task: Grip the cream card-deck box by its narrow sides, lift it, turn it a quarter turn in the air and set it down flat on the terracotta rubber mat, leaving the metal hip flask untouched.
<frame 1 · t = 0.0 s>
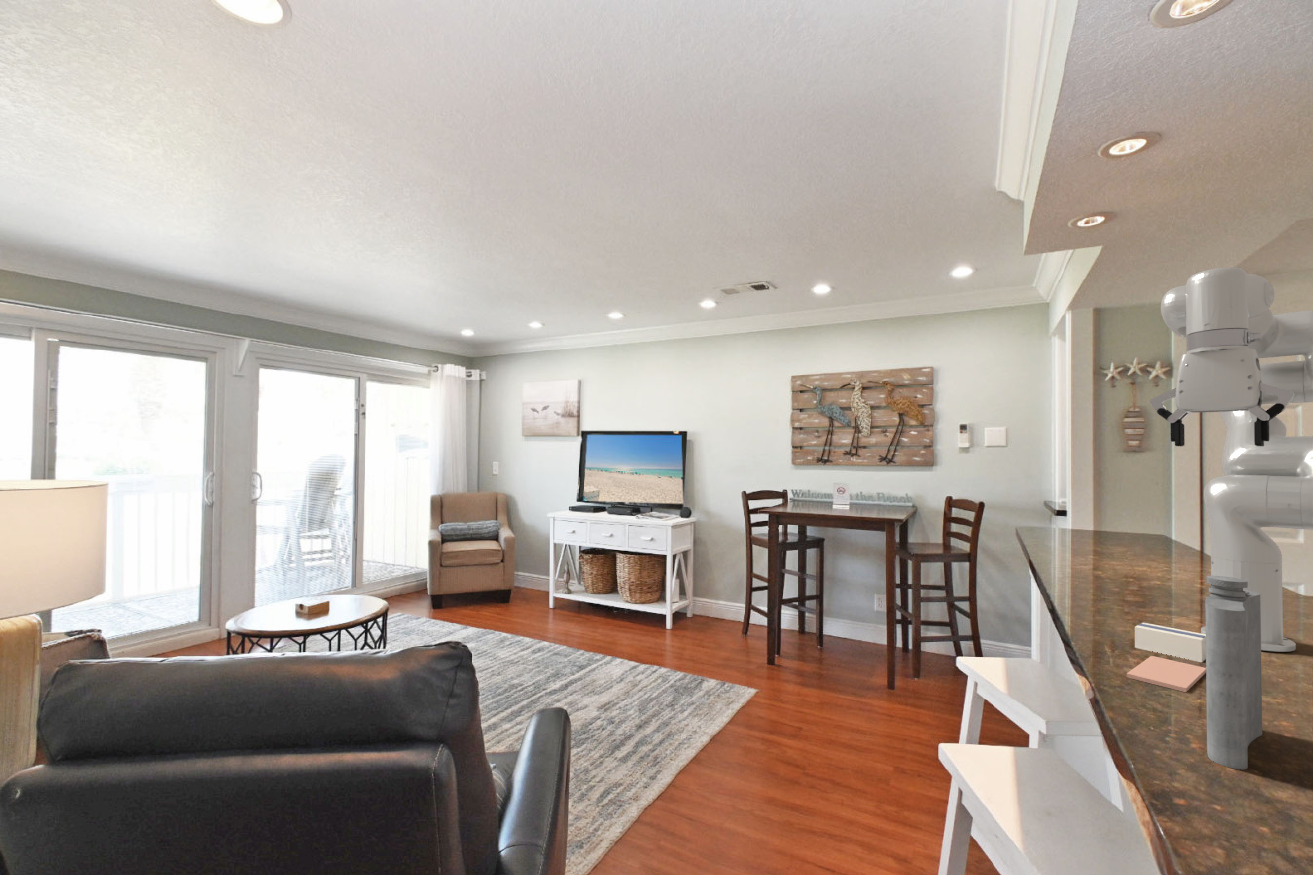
hand: (1217, 446, 96), 37 cm above the worktop, tool pointing down, fingers open, 9 cm apart
card box: (1170, 653, 103), on the worktop
mat: (1167, 674, 92), on the worktop
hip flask: (1231, 745, 70), on the worktop
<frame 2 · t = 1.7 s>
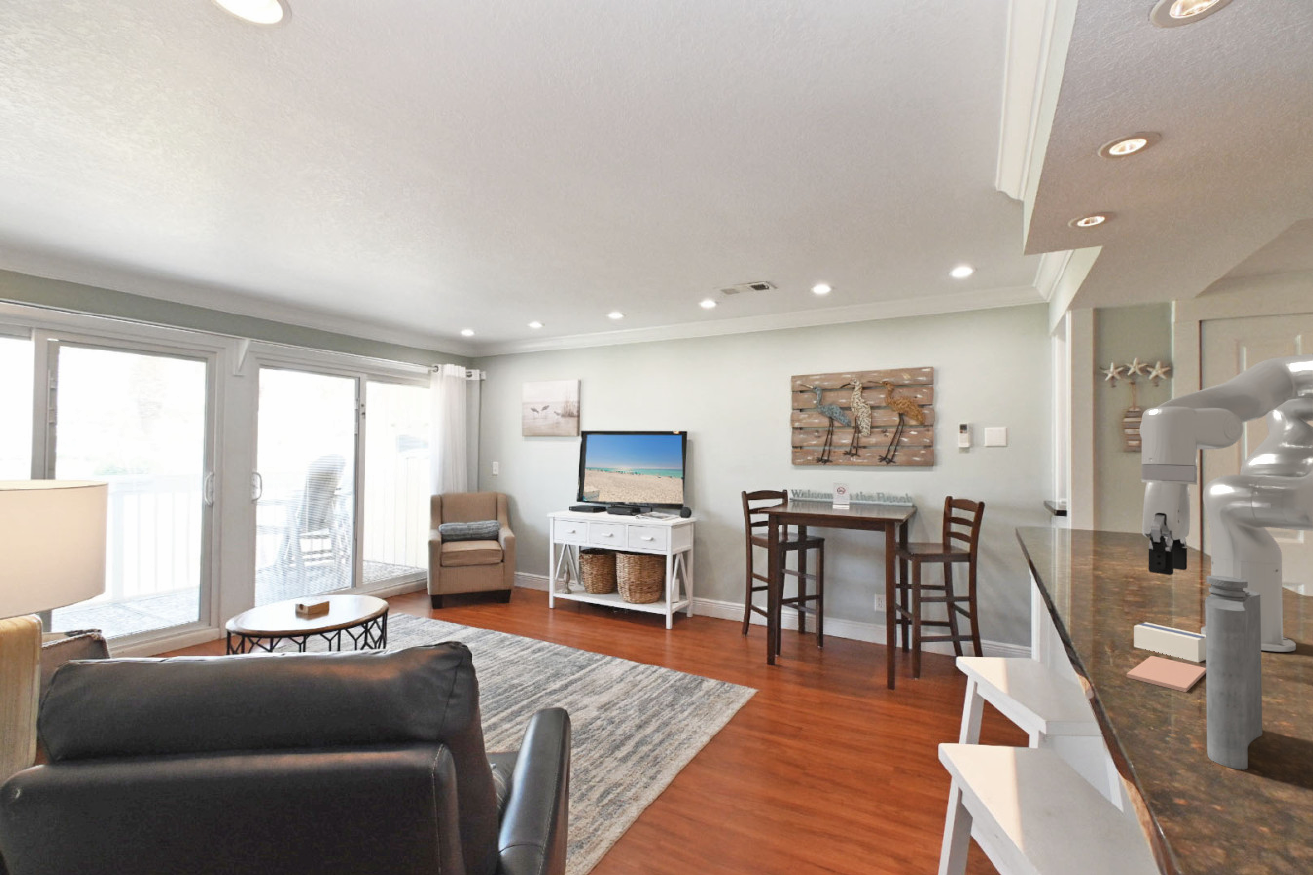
hand: (1168, 570, 103), 14 cm above the worktop, tool pointing down, fingers open, 9 cm apart
nothing on the worktop moved.
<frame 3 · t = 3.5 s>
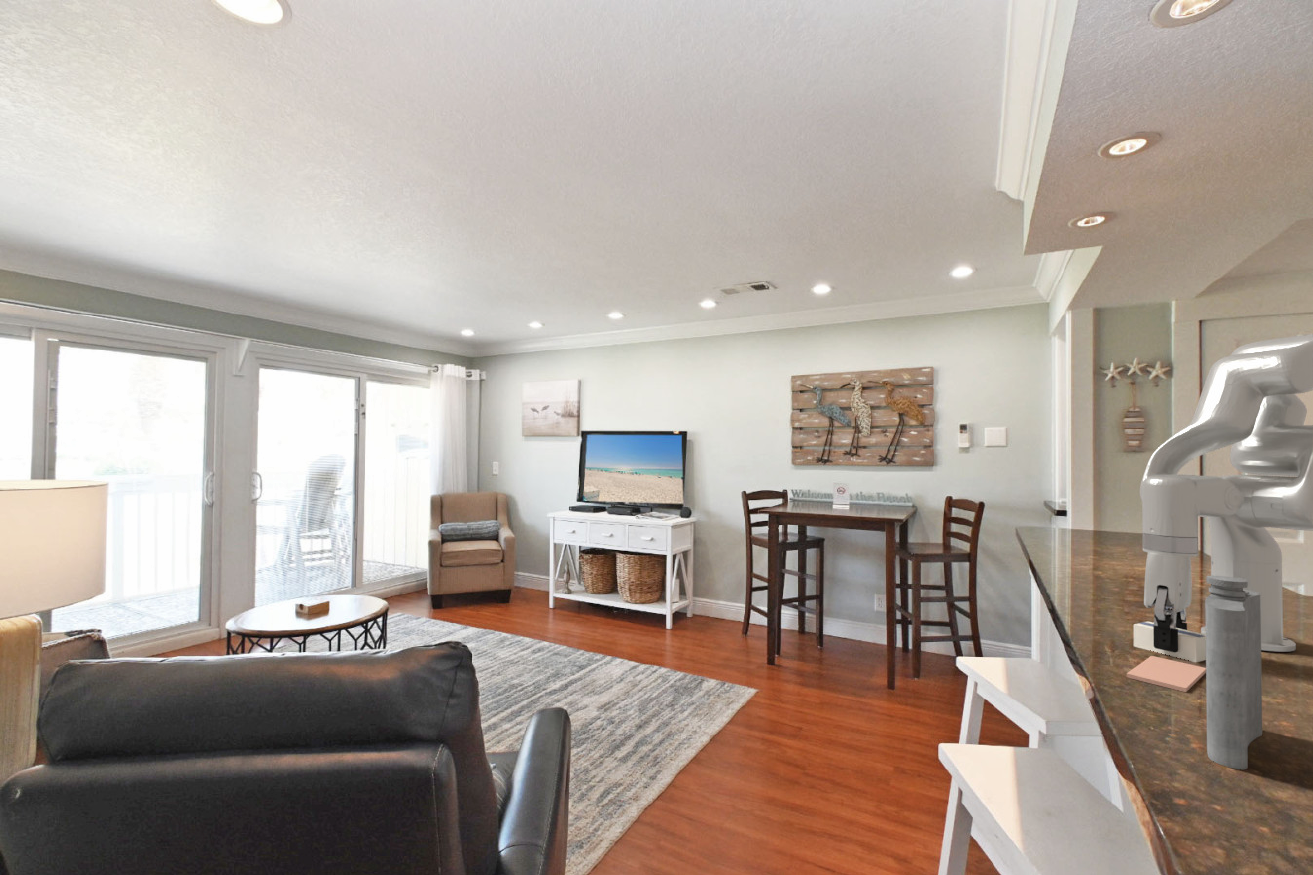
hand: (1170, 645, 103), 1 cm above the worktop, tool pointing down, fingers closed on card box, 5 cm apart
card box: (1170, 652, 103), on the worktop, touching gripper
everything else where it was.
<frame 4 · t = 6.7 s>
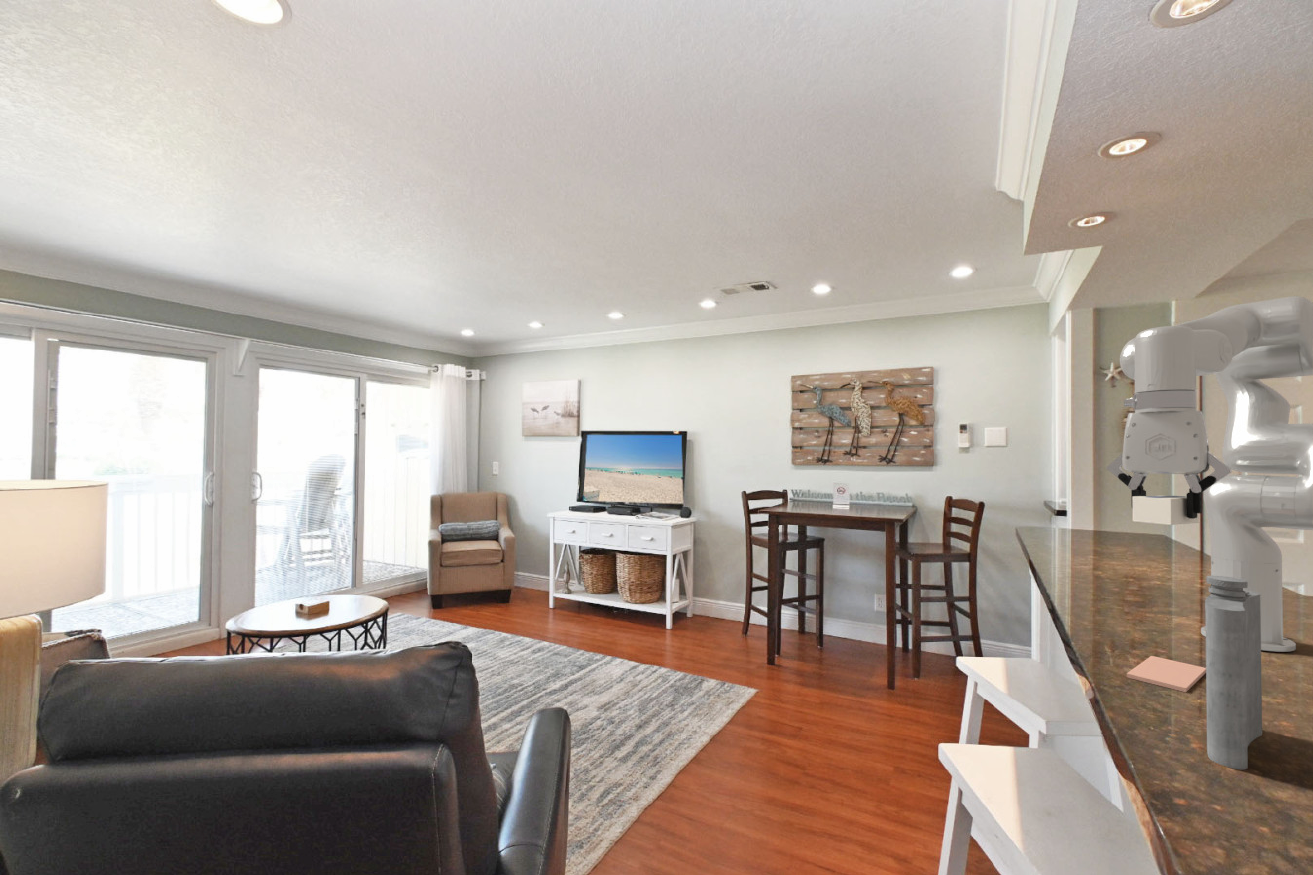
hand: (1165, 514, 93), 25 cm above the worktop, tool pointing down, fingers closed on card box, 5 cm apart
card box: (1165, 521, 93), point 24 cm above the worktop, touching gripper
everything else where it was.
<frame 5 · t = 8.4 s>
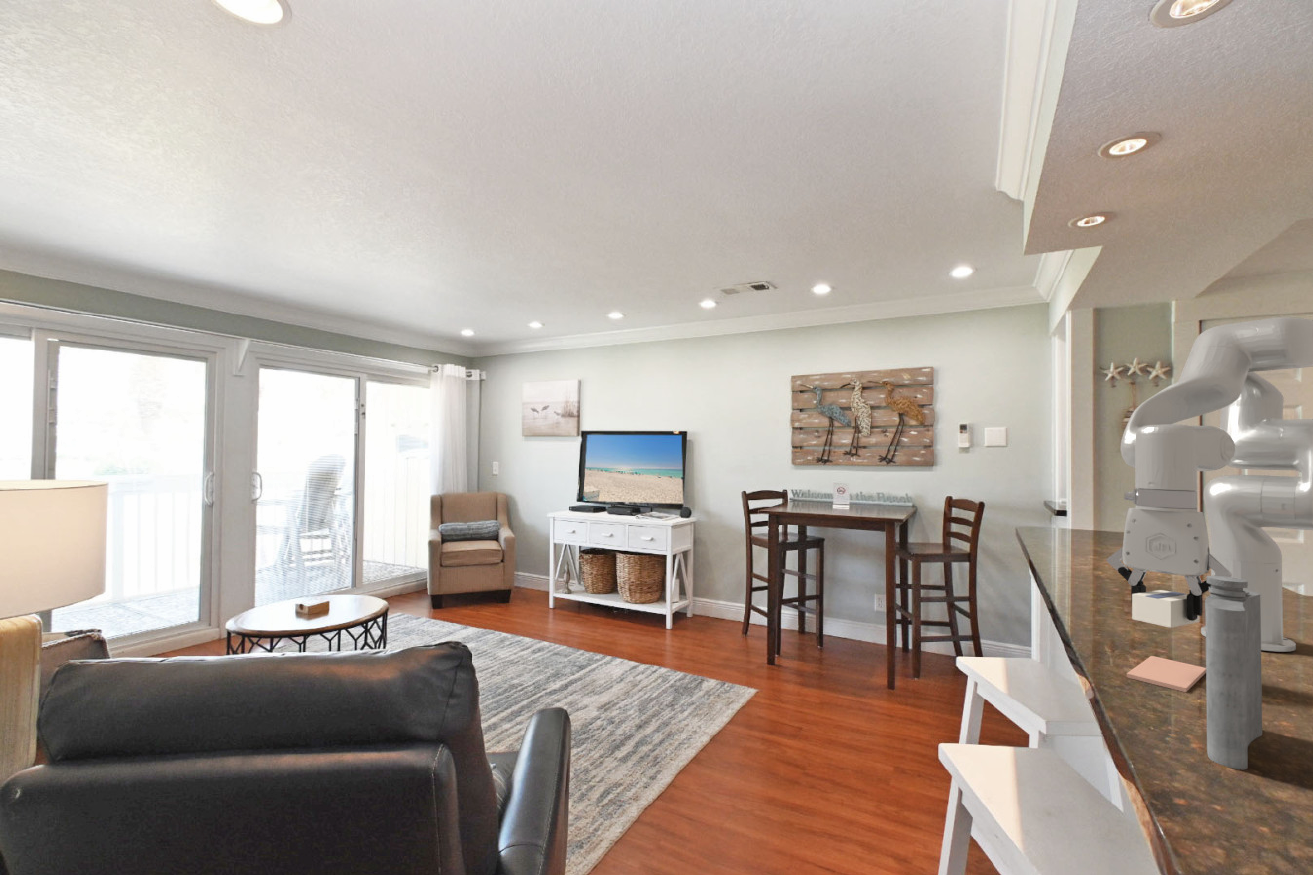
hand: (1165, 613, 92), 10 cm above the worktop, tool pointing down, fingers closed on card box, 5 cm apart
card box: (1165, 620, 92), point 9 cm above the worktop, touching gripper
everything else where it was.
when the fingers open (3 cm above the worktop, at t = 10.0 s): card box drops 1 cm, resting on mat.
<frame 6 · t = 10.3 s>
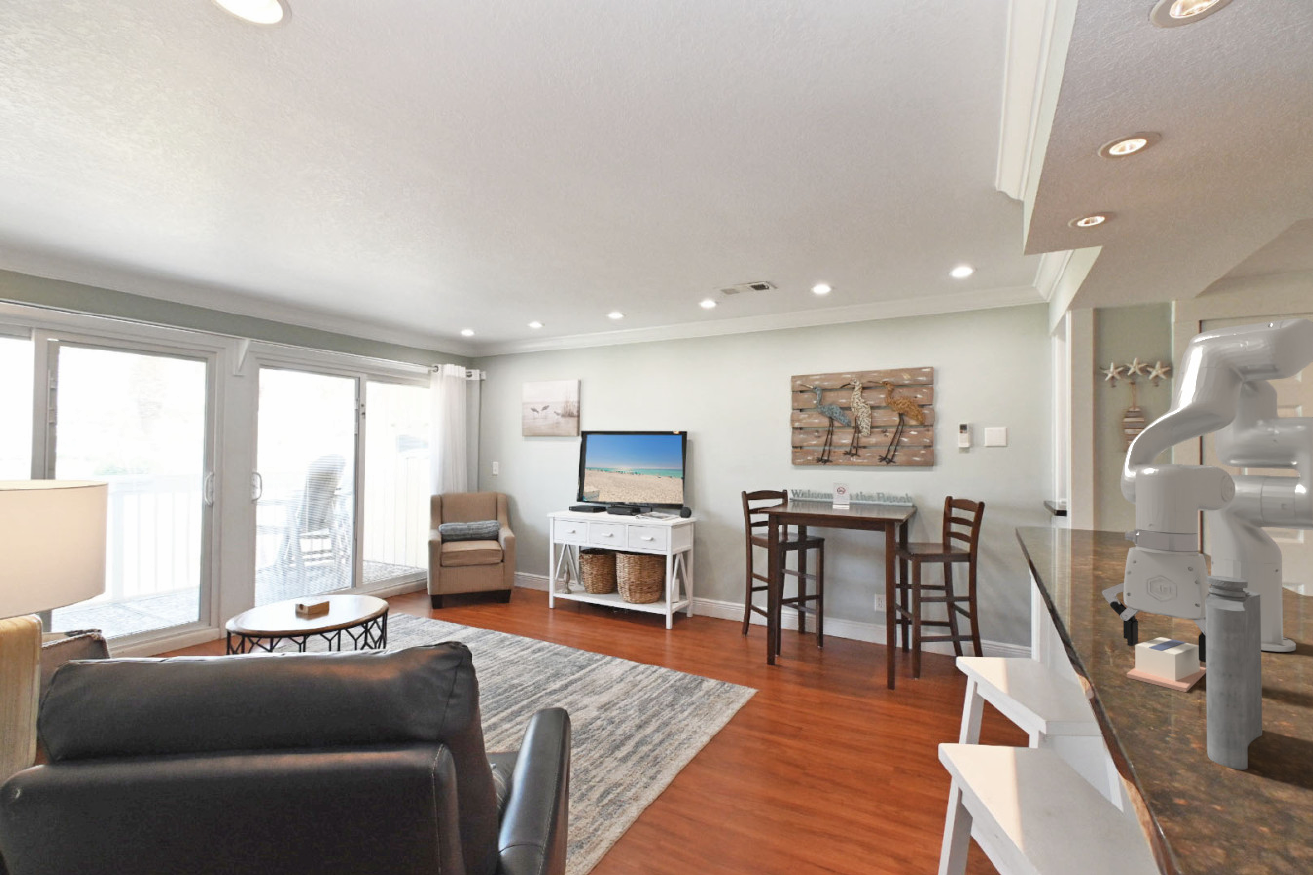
hand: (1167, 651, 92), 4 cm above the worktop, tool pointing down, fingers open, 8 cm apart
card box: (1167, 670, 92), point 1 cm above the worktop, touching mat
everything else where it was.
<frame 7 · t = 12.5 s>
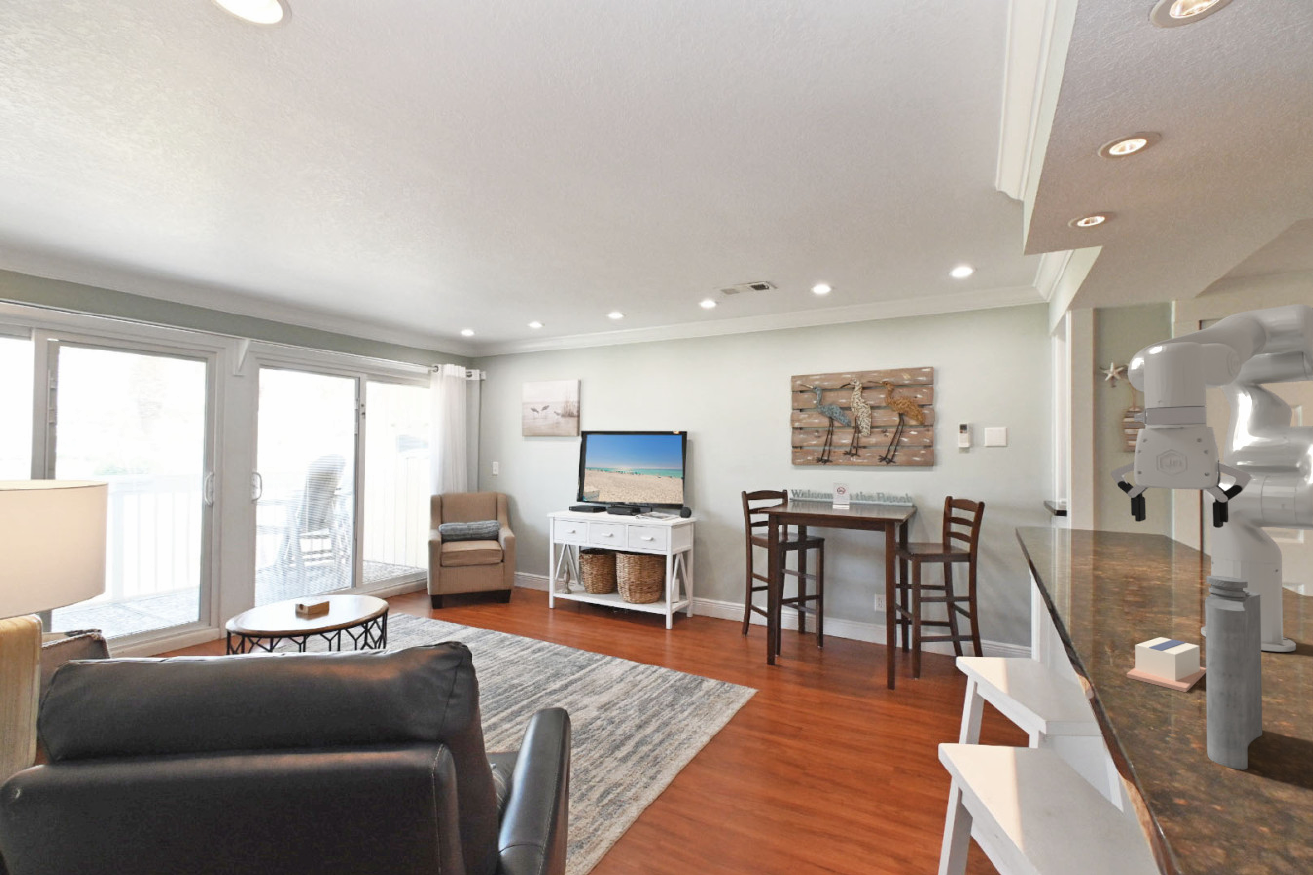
hand: (1177, 523, 94), 24 cm above the worktop, tool pointing down, fingers open, 9 cm apart
nothing on the worktop moved.
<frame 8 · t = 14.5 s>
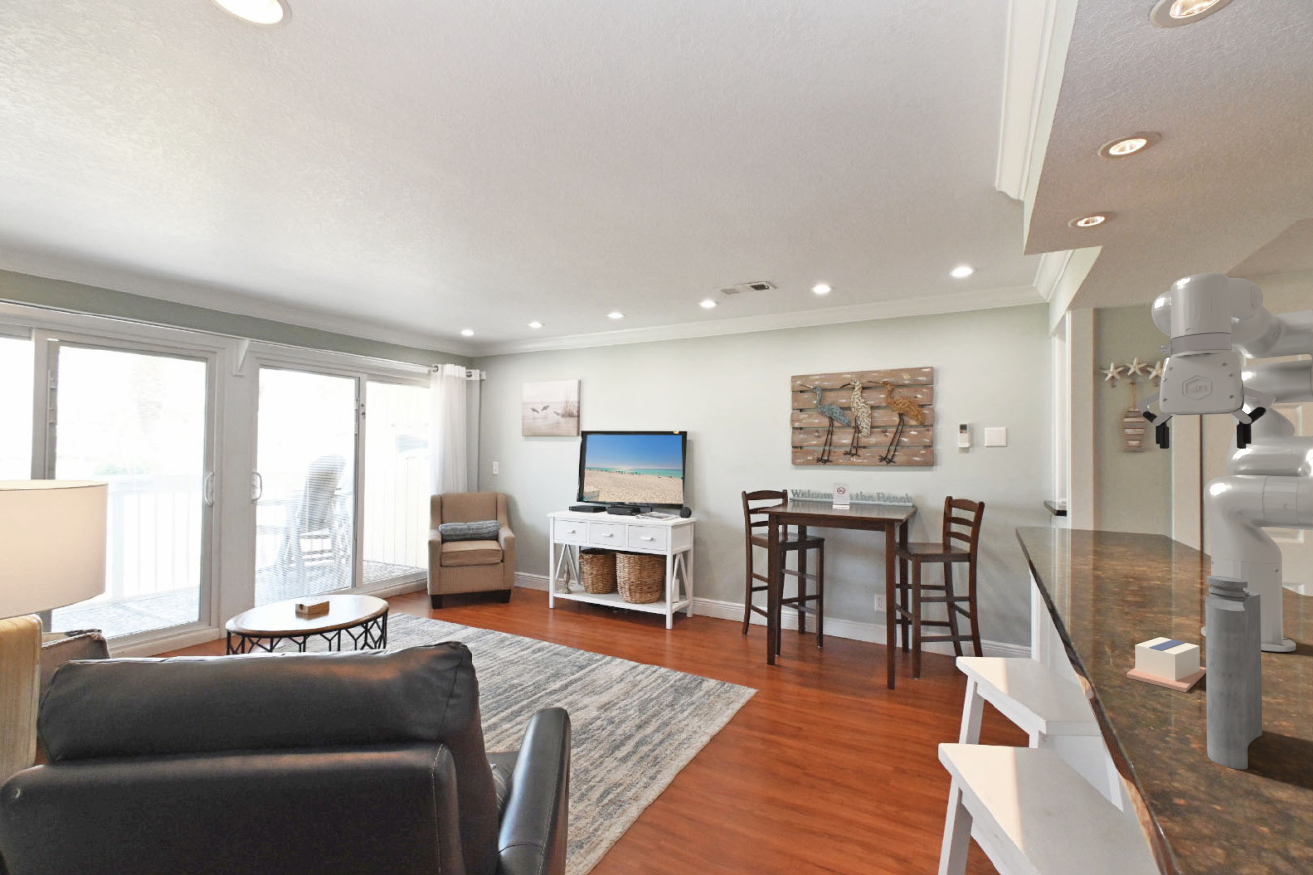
hand: (1201, 448, 98), 36 cm above the worktop, tool pointing down, fingers open, 9 cm apart
nothing on the worktop moved.
at the end: card box 0.1 cm off-centre on the mat, point 0.6 cm above the mat's base; card box tilted 0°; the gripper is holding nothing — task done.
